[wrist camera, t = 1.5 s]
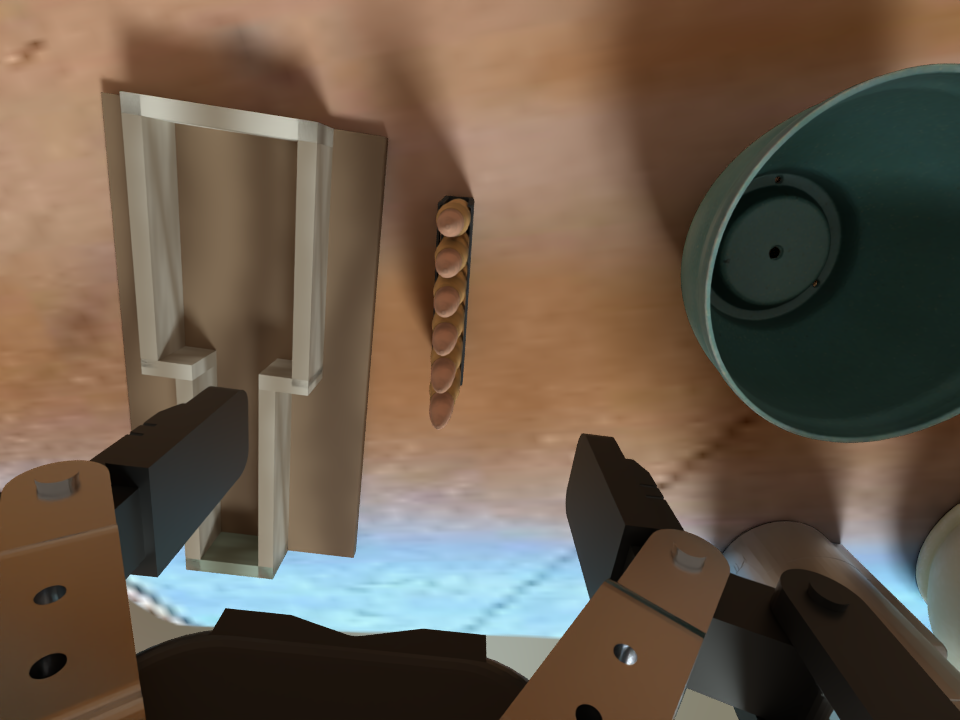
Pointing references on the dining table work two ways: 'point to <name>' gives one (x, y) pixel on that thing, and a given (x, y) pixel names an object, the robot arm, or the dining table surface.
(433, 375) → the ammunition clip
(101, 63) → the dining table surface
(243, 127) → the shallow open tray
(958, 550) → the kettle
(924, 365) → the flower pot
